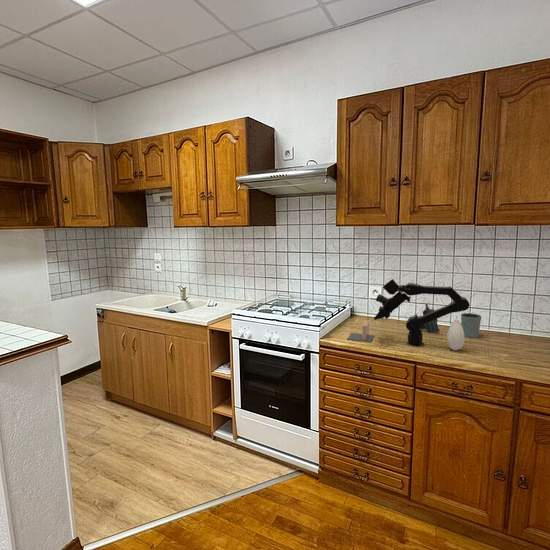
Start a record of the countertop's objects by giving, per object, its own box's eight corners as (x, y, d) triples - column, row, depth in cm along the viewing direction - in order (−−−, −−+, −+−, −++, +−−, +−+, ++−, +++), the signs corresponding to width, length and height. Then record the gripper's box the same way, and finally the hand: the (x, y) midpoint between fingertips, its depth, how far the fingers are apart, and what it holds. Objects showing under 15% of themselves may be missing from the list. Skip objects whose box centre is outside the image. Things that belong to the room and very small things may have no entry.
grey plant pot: (478, 334, 200) (479, 313, 199) (481, 339, 191) (483, 318, 190) (458, 332, 204) (459, 312, 203) (460, 337, 195) (462, 316, 193)
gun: (408, 305, 213) (433, 302, 204) (414, 332, 212) (440, 330, 203) (406, 306, 211) (432, 303, 202) (413, 333, 210) (439, 331, 201)
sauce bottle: (462, 353, 170) (464, 317, 168) (445, 350, 175) (446, 315, 172) (464, 349, 177) (466, 314, 174) (447, 346, 181) (449, 312, 179)
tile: (368, 335, 199) (369, 321, 198) (366, 340, 190) (366, 326, 189) (365, 334, 200) (365, 321, 199) (362, 339, 191) (362, 325, 190)
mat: (374, 336, 199) (374, 335, 199) (371, 342, 188) (371, 341, 188) (351, 333, 204) (351, 332, 204) (347, 339, 193) (347, 338, 193)
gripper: (387, 287, 196) (366, 304, 202) (383, 292, 179) (361, 312, 185) (401, 301, 194) (380, 319, 200) (399, 309, 177) (376, 328, 183)
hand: (374, 319), depth 192 cm, fingers closed
